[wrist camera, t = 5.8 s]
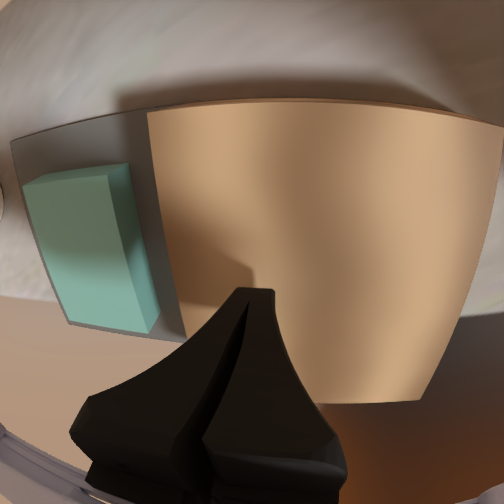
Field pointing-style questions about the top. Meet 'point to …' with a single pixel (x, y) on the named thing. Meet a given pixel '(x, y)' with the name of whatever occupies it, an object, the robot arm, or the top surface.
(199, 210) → the wooden block
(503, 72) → the top surface
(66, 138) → the mat
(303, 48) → the top surface
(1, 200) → the supplement bottle
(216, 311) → the robot arm
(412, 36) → the top surface
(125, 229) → the mint green block
